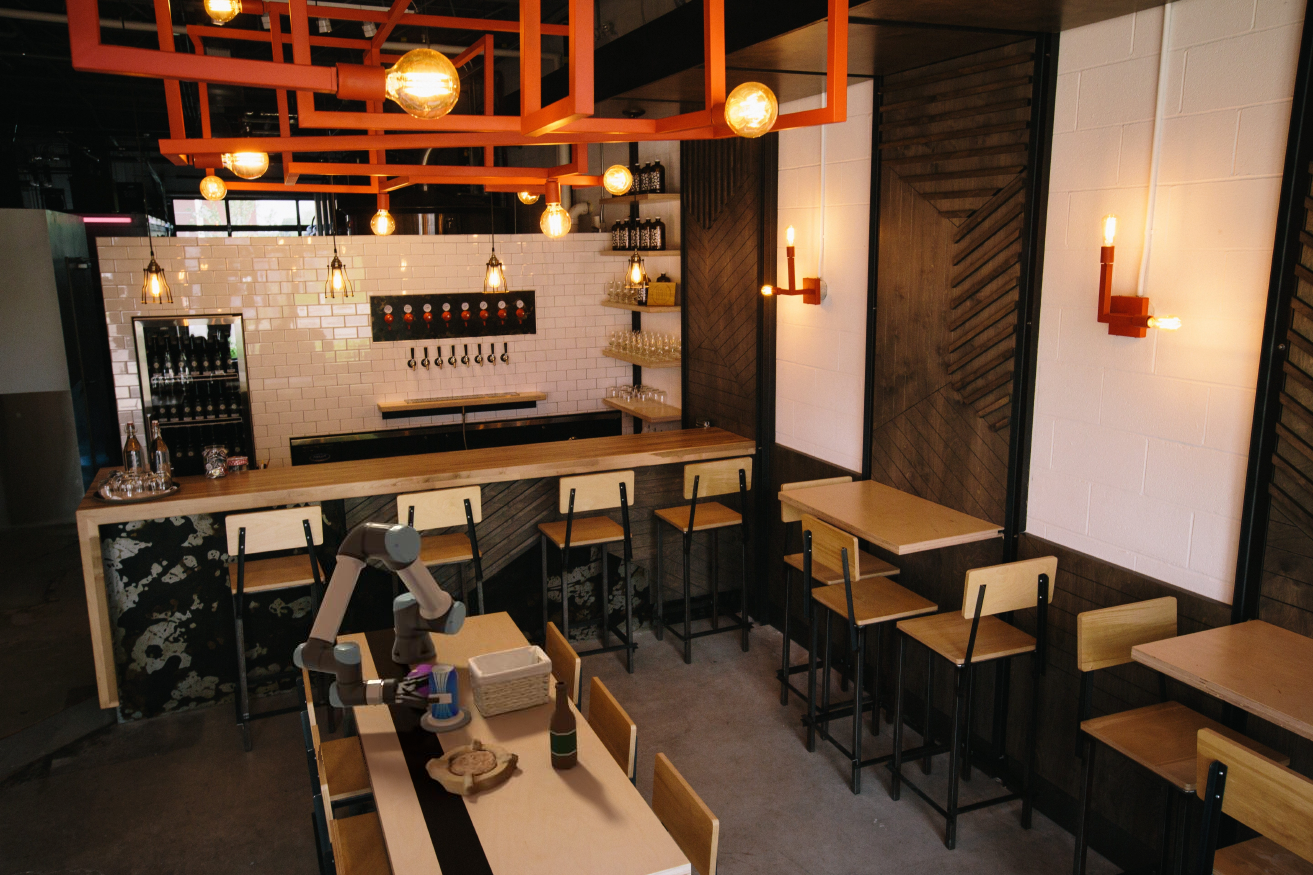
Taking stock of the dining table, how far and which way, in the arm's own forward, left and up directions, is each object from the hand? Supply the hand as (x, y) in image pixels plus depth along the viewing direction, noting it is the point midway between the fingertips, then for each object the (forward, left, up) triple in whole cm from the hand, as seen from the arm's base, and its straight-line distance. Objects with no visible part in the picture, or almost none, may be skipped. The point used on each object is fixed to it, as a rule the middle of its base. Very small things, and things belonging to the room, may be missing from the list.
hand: (454, 687), depth 267 cm
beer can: (0, -3, -10) cm, 10 cm away
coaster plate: (0, -3, -10) cm, 11 cm away
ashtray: (+30, +9, -11) cm, 33 cm away
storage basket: (-10, +16, -11) cm, 22 cm away
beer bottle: (+29, +34, -11) cm, 46 cm away
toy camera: (-18, -11, -11) cm, 24 cm away
